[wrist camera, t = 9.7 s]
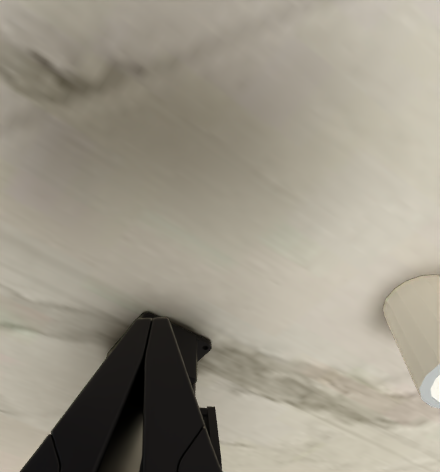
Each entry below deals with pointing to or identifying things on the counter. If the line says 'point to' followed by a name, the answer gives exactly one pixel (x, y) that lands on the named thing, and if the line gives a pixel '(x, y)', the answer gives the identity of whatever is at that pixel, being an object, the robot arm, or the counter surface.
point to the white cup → (418, 332)
